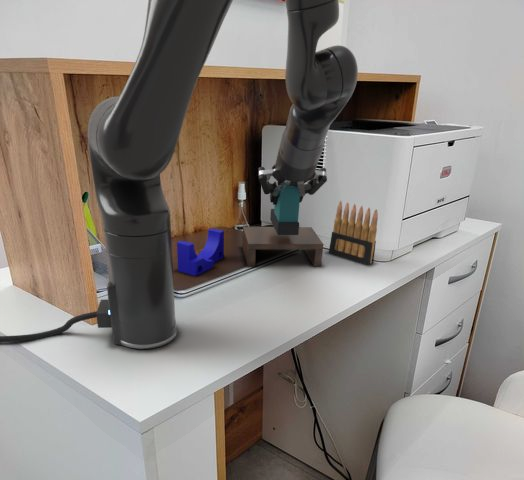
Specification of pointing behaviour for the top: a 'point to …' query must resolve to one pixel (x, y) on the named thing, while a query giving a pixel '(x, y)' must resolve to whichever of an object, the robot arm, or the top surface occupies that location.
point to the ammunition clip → (354, 235)
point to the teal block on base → (286, 212)
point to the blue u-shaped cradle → (201, 254)
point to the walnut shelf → (281, 242)
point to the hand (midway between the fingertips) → (284, 200)
